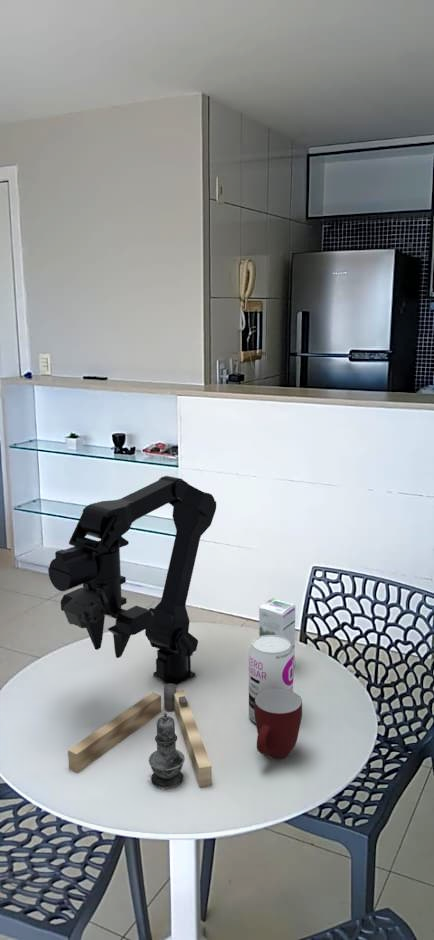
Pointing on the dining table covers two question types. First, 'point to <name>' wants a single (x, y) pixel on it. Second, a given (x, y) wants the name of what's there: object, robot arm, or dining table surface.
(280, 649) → the supplement can
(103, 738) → the tongs jaw
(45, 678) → the dining table surface
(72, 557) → the robot arm
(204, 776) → the tongs fixed arm
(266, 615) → the syrup box
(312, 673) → the dining table surface
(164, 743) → the salt shaker
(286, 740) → the mug
